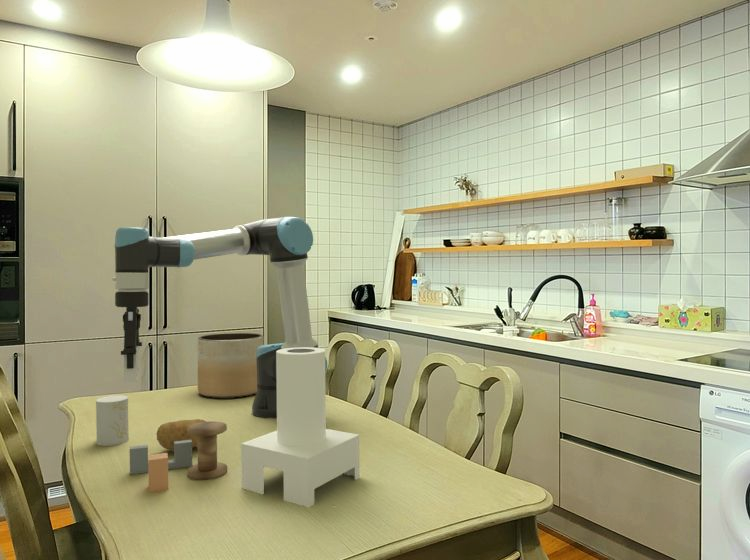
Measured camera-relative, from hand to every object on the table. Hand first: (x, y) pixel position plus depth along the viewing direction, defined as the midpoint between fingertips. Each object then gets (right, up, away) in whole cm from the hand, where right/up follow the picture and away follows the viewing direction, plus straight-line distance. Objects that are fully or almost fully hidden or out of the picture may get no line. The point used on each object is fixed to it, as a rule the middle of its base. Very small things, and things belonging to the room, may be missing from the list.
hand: (132, 377), depth 137 cm
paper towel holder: (+43, -22, -11) cm, 50 cm away
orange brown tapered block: (+12, -22, -13) cm, 28 cm away
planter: (+3, -20, +82) cm, 84 cm away
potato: (+9, -22, +12) cm, 27 cm away
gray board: (+8, -22, -2) cm, 23 cm away
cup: (-14, -22, +20) cm, 33 cm away
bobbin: (+20, -22, -4) cm, 30 cm away
